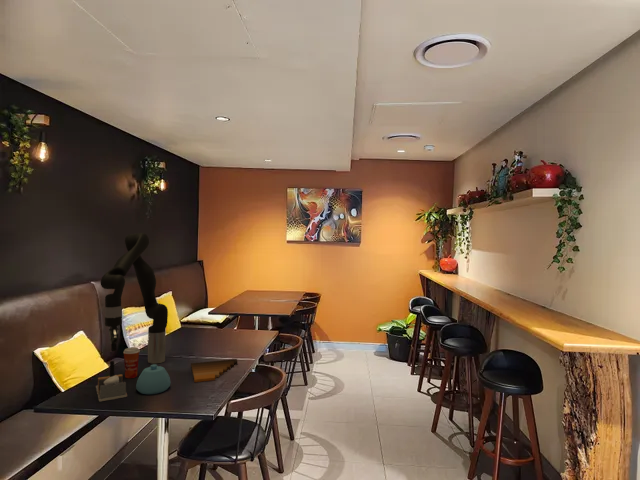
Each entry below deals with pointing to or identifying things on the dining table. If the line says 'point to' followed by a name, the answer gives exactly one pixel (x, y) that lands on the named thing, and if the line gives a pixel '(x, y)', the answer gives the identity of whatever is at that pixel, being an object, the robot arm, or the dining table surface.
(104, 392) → the beige napkin holder
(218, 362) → the pan flute
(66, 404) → the dining table surface
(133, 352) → the paper cup
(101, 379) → the sliding jaw
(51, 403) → the dining table surface
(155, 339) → the robot arm
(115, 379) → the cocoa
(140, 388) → the teal dome lid
